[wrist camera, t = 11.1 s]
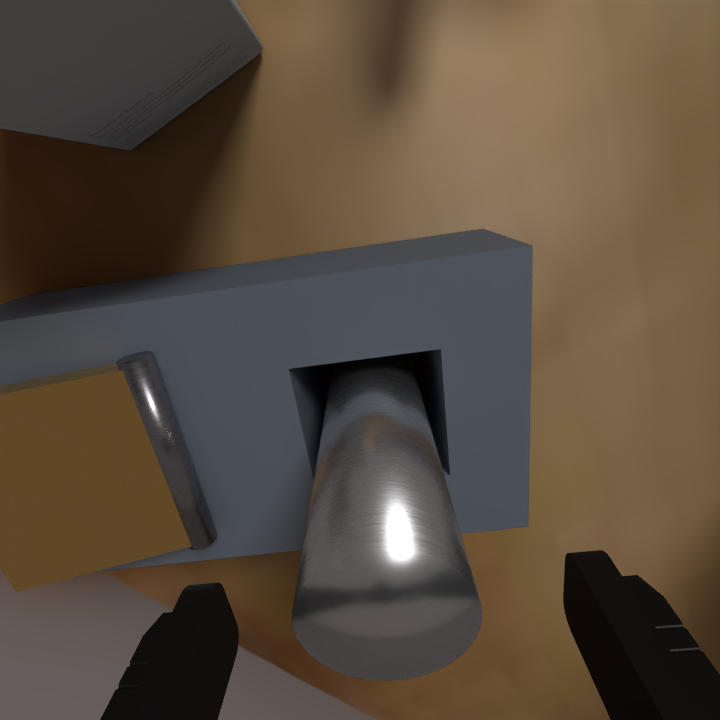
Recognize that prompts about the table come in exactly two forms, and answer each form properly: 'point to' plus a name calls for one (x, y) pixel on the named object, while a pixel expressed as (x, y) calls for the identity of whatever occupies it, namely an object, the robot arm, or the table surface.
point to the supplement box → (114, 64)
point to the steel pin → (382, 535)
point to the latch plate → (94, 474)
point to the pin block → (310, 369)
